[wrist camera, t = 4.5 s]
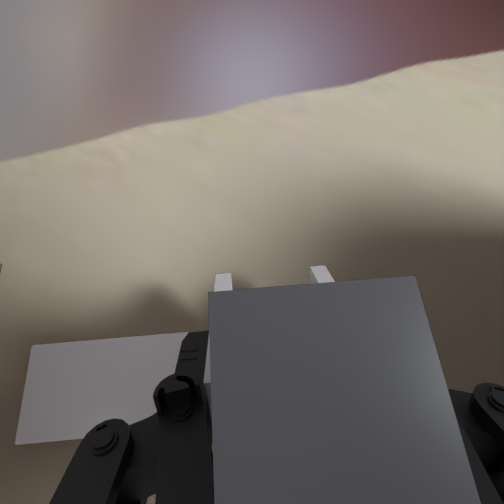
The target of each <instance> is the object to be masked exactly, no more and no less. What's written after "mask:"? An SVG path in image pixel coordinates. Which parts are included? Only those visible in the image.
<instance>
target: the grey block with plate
mask: <svg viewBox="0 0 504 504" xmlns="http://www.w3.org/2000/svg"><path fill="white" fill-rule="evenodd" d="M208 307H209V340H210V373H211V406H212V439H213V472H214V504H481V502H480V499H479V495H478V492H477V488H476V485H475V481H474V478H473V475H472V471H471V468H470V464H469V461H468V457H467V454H466V450H465V447H464V443H463V440H462V436H461V433H460V429H459V426H458V423H457V419H456V416H455V412H454V409H453V405H452V402H451V398H450V395H449V391H448V388H447V384H446V381H445V377H444V374H443V371H442V367H441V364H440V360H439V357H438V353H437V350H436V346H435V343H434V339H433V336H432V332H431V329H430V325H429V322H428V318H427V315H426V312H425V308H424V305H423V301H422V298H421V294H420V291H419V287H418V284H417V280H416V277H415V275H413V276H400V277H388V278H376V279H363V280H351V281H339V282H327V283H314V284H302V285H290V286H277V287H265V288H253V289H240V290H228V291H216V292H208ZM203 331H207V330H203ZM192 332H195V331H192ZM188 333H189V332H180V333H168V334H156V335H145V336H133V337H121V338H109V339H98V340H86V341H74V342H62V343H51V344H39V345H32V347H31V352H30V358H29V364H28V370H27V375H26V381H25V387H24V393H23V399H22V404H21V410H20V416H19V422H18V427H17V433H16V439H15V445H22V444H33V443H43V442H54V441H64V440H75V439H83V438H84V437H85V435H86V434H87V433H88V432H89V431H90V430H91V429H92V428H94V427H95V426H96V425H98V424H100V423H101V422H103V421H105V420H110V419H114V418H115V419H122V420H124V421H125V422H126V423H128V425H131V424H133V423H136V422H138V421H141V420H143V419H146V418H148V417H150V416H152V415H153V414H155V413H156V412H157V410H156V406H155V403H154V400H153V394H154V390H155V388H156V387H157V385H158V384H159V383H160V381H162V380H163V379H164V378H166V377H167V376H169V375H172V374H174V373H175V368H176V364H177V362H178V356H179V353H180V352H179V351H180V347H181V343H182V340H183V339H184V338H185V337H186V335H187V334H188Z"/></svg>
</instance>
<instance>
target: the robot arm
mask: <svg viewBox="0 0 504 504" xmlns="http://www.w3.org/2000/svg"><path fill="white" fill-rule="evenodd" d="M327 282H335V281H334V279H333V278H332V276H331V274H330V273H329V271H328V270H327V268H326V267H325V265H324V266H311V267H310V283H309V284H314V283H327ZM228 290H233V288H232V278H231V273H223V274H216V277H215V286H214V292H216V291H228ZM179 352H180V353H179V356H178V362H177V364H176V368H175V373H174V374H172V375H169V376H167V377H166V378H164V379H163V380H162V381H160V383H159V384H158V385H157V387H156V388H155V390H154V394H153V400H154V403H155V406H156V410H157V412H156V413H155V414H153V415H152V416H150V417H148V418H146V419H143V420H141V421H138V422H136V423H133V424H131V425H128V423H126V422H125V421H124V420H122V419H115V418H114V419H110V420H105V421H103V422H101V423H100V424H98V425H96V426H95V427H94V428H92V429H91V430H90V431H89V432H88V433H87V434H86V435H85V437H84V438H83V440H82V441H81V443H80V444H79V446H78V448H77V450H76V452H75V454H74V456H73V458H72V460H71V462H70V464H69V466H68V468H67V470H66V472H65V474H64V476H63V478H62V480H61V482H60V484H59V486H58V488H57V490H56V492H55V494H54V496H53V497H52V499H51V501H50V503H49V504H146V502H147V498H148V497H149V496H151V495H153V494H155V493H156V502H155V504H214V472H213V451H212V406H211V373H210V340H209V330H207V331H195V332H189V333H188V334H187V335H186V337H185V338H184V339H183V340H182V343H181V347H180V351H179ZM448 391H449V395H450V398H451V402H452V405H453V409H454V412H455V416H456V419H457V423H458V426H459V429H460V433H461V436H462V440H463V443H464V447H465V450H466V454H467V457H468V461H469V464H470V468H471V471H472V475H473V478H474V481H475V485H476V488H477V492H478V495H479V499H480V502H481V504H504V387H503V386H499V385H496V384H492V383H482V384H479V385H477V386H476V387H475V389H474V391H473V393H467V392H462V391H456V390H450V389H448Z"/></svg>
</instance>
